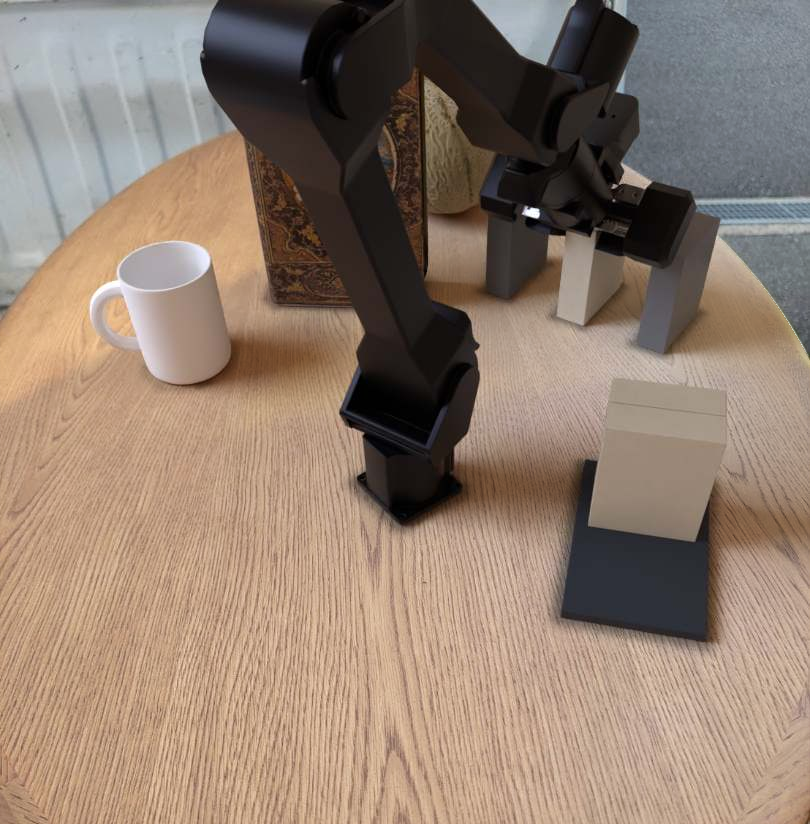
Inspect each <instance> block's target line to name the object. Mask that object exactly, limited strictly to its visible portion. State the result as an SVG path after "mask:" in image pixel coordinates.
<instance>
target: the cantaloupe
mask: <svg viewBox="0 0 810 824" xmlns="http://www.w3.org/2000/svg"><path fill="white" fill-rule="evenodd" d="M424 90H425V132H426V174H427V213H428V212H429V213H431V214H458V213H463V212H465V211H468V210H469V209H471V208H474V207H475V206H477V205H479V202H478V199H479V191H480V189H481V186H482V184H483V181H484V179H485V176H486V174H487V172H488V169H489V167H490V164H491V162H492V159H493V157H494V154H495V152H492V151H488V150H485V149H481V148H478V147H475V146H473V145H472V144H471V143H470V142H469V140H468V139H467V137H466V136H465V134H464V133H463V131H462V130H461V128H460V127H459V125H458V124H457V122H456V119H455V117H456V114H457V111H458V107H457V105H456V104H455V102H454V101H453V100H452V99H451V98H450V97H449V96H448V95H447V94H445V93H444V92H443V91H442V90H441V89H440V88H438V87H437V86H436V85H435V84H434V83H433V82H432V81H430V80H429V79H428V78H427V77H426V76H425V75H424Z"/></svg>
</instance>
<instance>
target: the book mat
mask: <svg viewBox="0 0 810 824" xmlns="http://www.w3.org/2000/svg"><path fill="white" fill-rule="evenodd" d="M727 396H728V391H727V390H723V389H714V388H708V387H707V388H705V387H697V386H690V385H689V386H688V385H680V384H672V383H664V382H655V381H648V380H638V379H630V378H622V377H612V379H611V384H610V389H609V395H608V400H607V401H608V402H607V405H606V406H607V407H606V411H605V418H604V422H603V423H604V424H603V428H602V435H601V440H600V446H599V451H598V458H597V460H595V459H587V458H586V459H584V462H583V470H582V475H581V481H580V488H579V494H578V500H577V501H578V502H577V506H576V507H577V508H576V513H575V518H574V519H575V521H574V527H573V534H572V539H571V546H570V552H569V559H568V565H567V571H566V578H565V582H564V583H565V584H564V588H563V589H564V590H563V595H562V596H563V597H562V602H561V609H560V618H563V619H570V620H575V621H581V622H588V623H593V624H598V625H605V626H611V627H616V628H623V629H628V630H634V631H638V632H639V631H640V632H644V633H645V632H646V633H652V634H656V635H657V634H658V635H664V636H669V637H675V638H681V639H687V640H693V641H698V642H705V640H706V638H707V635H708V633H707V631H708V626H707V625H708V589H709V588H708V587H709V586H708V585H709V582H708V581H709V545H710V544H709V540H710V539H709V538H710V497H711V493H712V490H713V488H714V484H715V481H716V479H717V475H718V472H719V469H720V465H721V463H722V459H723V456H724V453H725V450H726V448H727V444H728V441H727V440H728V417H727V416H728V413H727V412H728V410H727V409H728V408H727V407H728V405H727V404H728V402H727V401H728V397H727Z"/></svg>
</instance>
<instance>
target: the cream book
mask: <svg viewBox="0 0 810 824" xmlns="http://www.w3.org/2000/svg"><path fill="white" fill-rule="evenodd" d="M613 201H615V200H613ZM601 232H602V231H601V230H598V229H594V230H593V232H592V235H591V237H590V238H589V237H585V236H582V235H579V234H576V233H572V232H569V231H566V236H564V237H565V238H564V246H563V247H564V248H563V256H562V265H561V273H560V274H561V275H560V282H559V283H560V284H559V292H558V300H557V301H558V302H557V311H556V317H557V318H560V319H562V320H565V321H568V322H570V323H574V324H577V325H579V326H582V327H583V326H585V325H586V324H587V323H588V322H589V320H591V319H592V317H594V315H595V314H596V313H598V312H599V310H600V309H601V308H602V307H604V305H605V304H606V303H607V302H608V301H609V300H610V299H611V298H612V296H614V295H615V293H616V292H618V291H619V289H620V288H621V283H622V277H623V271H624V265H625V259H626V256H622V257H619V256H616V255H612V254H609V253H606V252H603V251H599V250H596V249H595V246H596V244H597V241H598V239H599V237H600V235H601Z"/></svg>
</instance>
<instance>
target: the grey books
mask: <svg viewBox="0 0 810 824" xmlns="http://www.w3.org/2000/svg"><path fill="white" fill-rule="evenodd" d="M522 206H523V205H521V204H518V205H517V207H516V210H515V213H516V214H517V215H518V217H517V219H516V221H515V222H512V223H510V222H507V221H504V220H500V219H497V218H494V217H491V216H487V229H486V255H485V256H486V257H485V282H484V292H485V293H487V294H491V295H494V296H497V297H500V298H502V299H506V300H509V299H510V298H511V297H513V295H515V293H517V292H518V291H519V290H520V289H521V288H522V287H523V286H524V285H525V284H526V283H527V282H529V280H531V279H532V278H533V277H534V276H535V275H536V274H537V273H539V271H540V270H541V269H542V268H544V267H545V266H546V265H547V261H548V260H547V258H548V249H549V237H550V235H548V234H544V233H541V232H538V231H535V230H531V229H529V228H527V227H526V225H525V220H526V218H527V216H523V215H522V214H521V209H522ZM721 221H722V218H720V217H717V216H714V215H710V214H706V213H704V212H698V211H695V213H694V216H693V218H692V220H691V222H690V224H689V227H688V229H687V231H686V233H685V236H684V238H683V240H682V242H681V244H680V247H679V249H678V251H677V253H676V256H675V258H674V260H673V262H672V264H671V265H670V266H668V267H666V268H664V269H659V268H656V267H653V266H650V272H649V277H648V282H647V288H646V291H645V292H646V293H645V299H644V303H643V307H642V313H641V319H640V323H639V329H638V333H637V337H636V338H637V339H636V344H635V345H637V346H639V347H642V348H645V349H647V350H648V349H649V350H651V351H653V352H656V353H659V354H661V355H664V354H665V353H666V352H667V351H668V349H669V348H670V347H671V345H672V344H673V343H674V342H675V341H676V339H677V338H678V337H679V336H680V335H681V334H682V332H683V331H684V330H685V329H686V327H687V326H688V325H689V324H690V322H692V320H693V319H694V318H695V316H696V315H697V314H698V312H699V308H700V304H701V300H702V296H703V292H704V288H705V284H706V281H707V276H708V272H709V268H710V264H711V260H712V256H713V252H714V248H715V244H716V240H717V236H718V232H719V228H720V224H721Z"/></svg>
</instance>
